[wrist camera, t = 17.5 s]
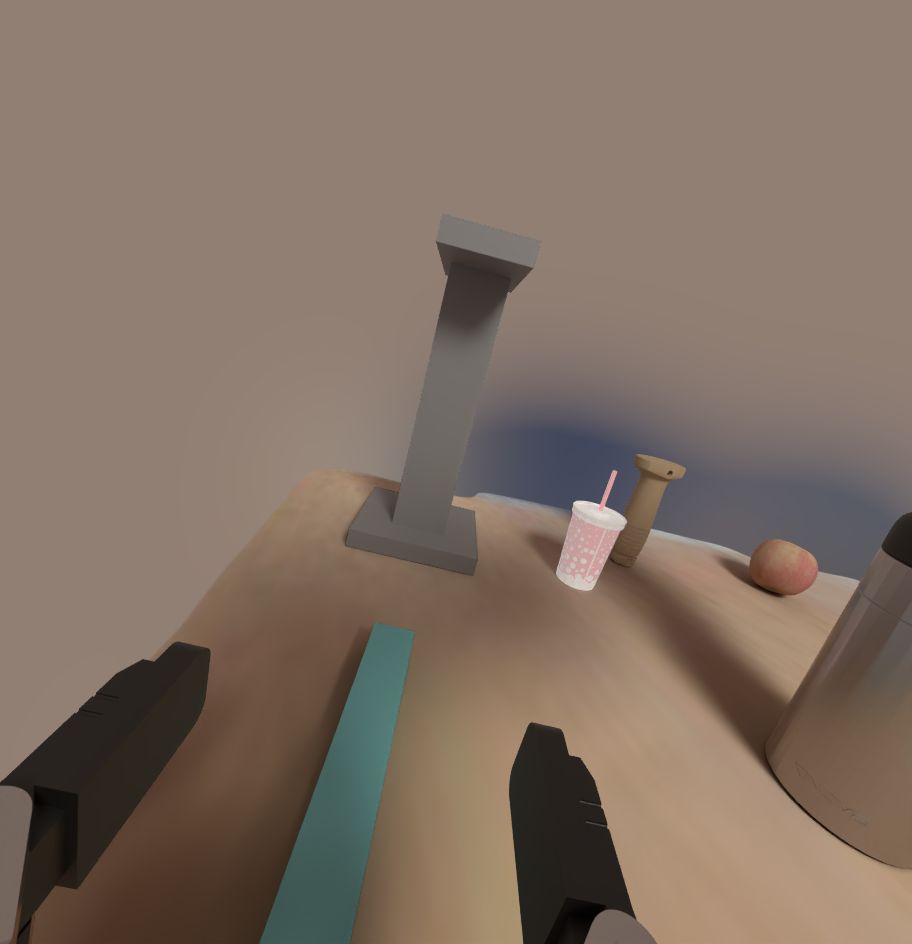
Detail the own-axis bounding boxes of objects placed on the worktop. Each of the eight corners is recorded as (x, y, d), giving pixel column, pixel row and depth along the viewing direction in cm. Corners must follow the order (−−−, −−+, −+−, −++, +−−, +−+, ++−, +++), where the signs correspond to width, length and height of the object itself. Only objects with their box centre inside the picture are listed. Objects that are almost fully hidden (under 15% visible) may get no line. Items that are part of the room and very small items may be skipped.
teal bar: (367, 655, 33) (375, 622, 32) (406, 664, 33) (415, 631, 32) (26, 1639, 8) (21, 1603, 7) (191, 1666, 8) (205, 1634, 7)
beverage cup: (591, 571, 56) (630, 469, 52) (607, 599, 50) (653, 486, 46) (545, 561, 55) (581, 457, 51) (556, 587, 49) (597, 472, 45)
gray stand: (372, 500, 60) (424, 250, 51) (471, 524, 61) (539, 281, 52) (334, 564, 43) (404, 202, 34) (473, 596, 43) (577, 251, 34)
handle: (650, 573, 60) (693, 471, 56) (609, 568, 58) (651, 462, 54) (630, 556, 64) (669, 460, 60) (592, 550, 63) (629, 451, 58)
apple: (813, 613, 61) (841, 563, 59) (759, 599, 61) (785, 548, 59) (778, 584, 68) (802, 539, 66) (730, 571, 69) (752, 526, 66)
